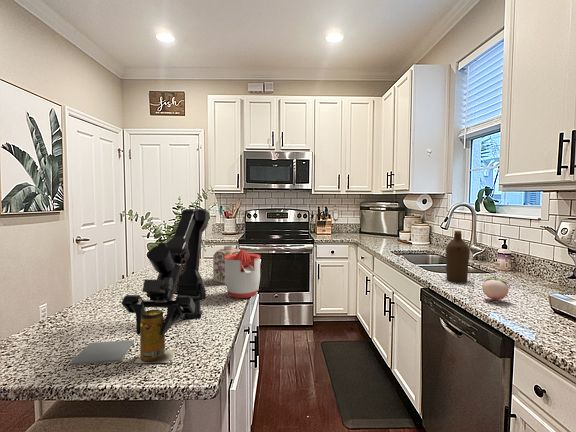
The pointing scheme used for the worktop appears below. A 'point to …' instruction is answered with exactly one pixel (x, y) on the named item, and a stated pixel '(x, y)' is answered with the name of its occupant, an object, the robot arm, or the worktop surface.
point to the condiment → (153, 339)
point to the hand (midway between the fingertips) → (149, 334)
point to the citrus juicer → (242, 274)
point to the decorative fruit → (495, 288)
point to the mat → (103, 352)
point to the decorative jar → (222, 262)
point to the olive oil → (457, 259)
